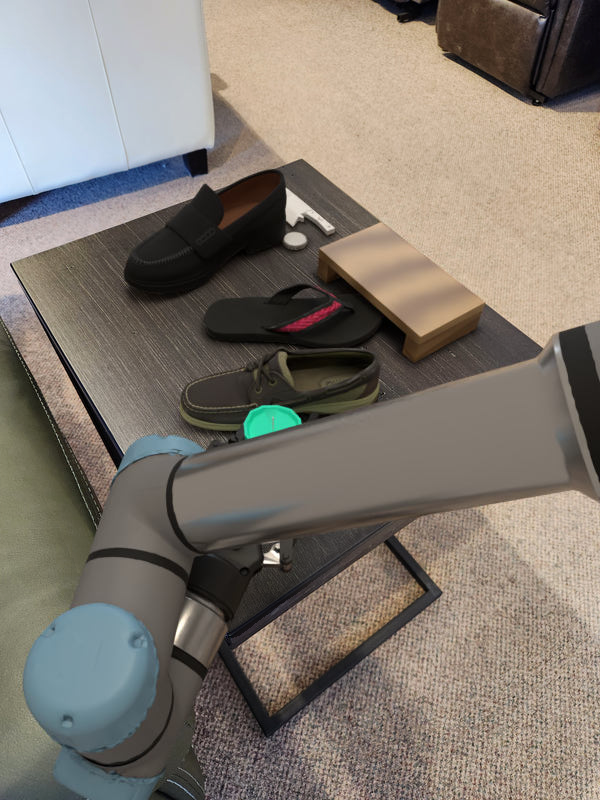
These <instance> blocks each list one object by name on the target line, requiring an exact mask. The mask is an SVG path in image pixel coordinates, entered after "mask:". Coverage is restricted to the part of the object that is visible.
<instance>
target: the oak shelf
mask: <svg viewBox="0 0 600 800" xmlns="http://www.w3.org/2000/svg"><path fill="white" fill-rule="evenodd" d="M317 276H318V277H319V278H320V279H321V280H322V281H323V282H324V283H326V284H328V283H331V282H332V281H335V280H338V279H339V278H342V279H343V280H344V281H346V282H347V283H348V284H349V285H350V286H351V287H353V288H354V289H355V290H356V291H357V292H358V294H362V295H363V296H364V297H365V298H366V299H367V300H368V301H370V302H371V303H372V304H373V305H374V306H375V307H376V308H378V309H379V310H380V311H381V312H382V313H383V314H384V317H387V319H388V320H390V322H392V323H393V324H394V325H395V326H396V327H398V328H399V329H400V330H401V331H402V332H403V333H404V334H405V339H404V344H403V348H402V351H401V352H402V354H403V355H404V356H405V357H406V358H408V359H409V361H411V362H412V363H413V364H415V363H416V362H418V361H420V360H422V359H424V358H426V357H427V356H429V355H431V354H433V353H435V352H437V351H438V350H440V349H442V348H444V347H446V346H448V345H449V344H450V343H452V342H454V341H456V340H458V339H460V338H462V337H464V336H465V335H467V334H469V333H470V332H472V331H474V330H476V329H477V327H478V325H479V322H480V320H481V317H482V313H483V312H484V311H483V310H484V308H485V305H486V301H485V300H483V299H482V298H481V297H480V296H478V294H475V292H473V291H472V290H471V289H469V288H468V287H467V286H466V285H464V284H463V283H461V282H460V281H459V280H458V279H456V278H455V277H453V275H451V274H450V273H448V272H447V271H446V270H445V269H443V268H442V267H441V266H439V265H438V264H437V263H436V262H434V261H432V259H430V258H428V256H426V255H425V254H423V253H422V251H420V250H419V249H417V248H415V247H414V246H413V245H412V244H411V243H409V242H408V241H407V240H405V239H404V238H403V237H402V236H400V235H399V234H398V233H396V232H395V231H394V230H392V228H390V227H388V226H387V225H386V224H385V223H383V222H382V221H381V222H380V221H379V222H377V223H375V224H373V225H371V226H369V227H366V228H363V229H361V230H359V231H356V232H354V233H351V234H349V235H347V236H345V237H342V238H340V239H338V240H335V241H333V242H330V243H328V244H325V245H324V246H321V247H319V248H318V259H317Z"/></svg>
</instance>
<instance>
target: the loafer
mask: <svg viewBox="0 0 600 800" xmlns="http://www.w3.org/2000/svg"><path fill="white" fill-rule="evenodd" d="M286 188H287V184H286V179H285V175H284V173H283V172H282V171H281V170H279V169H276V168H268V169H264V170H260V171H257V172H254V173H252V174H249V175H247V176H244V177H243V178H240V179H238V180H236V181H234V182H232V183H231V184H229V185H227V186H226V187H225V188H222V189H221V190H220V191H217V192H216V191H215V190H214V189H213V188H212V187H211V186H209V185H208V184H207V183H203V184H202V185H201V187H200V188H199V190H198V191H197V192H196V194H195V195H194V197H193V198H192V199H191V201H190V202H189V203H186V204H185V205H184V206H183V207H182V208H181V209H179V211H178V212H176V214H175V215H173V217H172V218H171V219H169V220H168V221H167V222H166V223H165V226H163V227H162V228H160V229H159V230H157V231H156V232H154V233H153V234H151V235H149V237H147V238H145V239H143V240H142V241H141V242H139V243H138V244H137V245H136V246H135V247H133V249H131V251H130V255H128V258H127V259H126V262H125V265H124V266H125V267H124V269H123V279H124V281H125V282H126V283H127V285H129V286H130V287H132V288H133V289H136V290H137V291H141V292H146V293H147V294H148V293H149V294H175V293H181V292H185V291H189V290H192V289H194V288H196V287H199V286H201V285H204V284H205V283H206V282H208V281H209V280H210V279H211V278H212V277H213V276H214V275H215V274H216V272H217V271H218V270H220V268H221V267H222V266H223V265H224V264H225V263H227V261H228V260H229V259H230V258H232V257H233V256H235V254H237V253H239V252H240V251H242V250H243V249H244V250H246V252H247V253H248V254H253V253H257V252H258V251H264V250H266V249H268V248H269V247H274V246H277V245H279V244H280V243H282V240H283V239H284V237H285V235H286V234H287V221H286V203H287V194H286Z"/></svg>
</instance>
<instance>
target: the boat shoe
mask: <svg viewBox="0 0 600 800" xmlns="http://www.w3.org/2000/svg"><path fill="white" fill-rule="evenodd" d="M380 362H381V361H380V358H379V356H378V354H377V353H376V352H374V351H373V350H370V349H366V348H358V347H357V348H353V347H346V348H329V349H321V348H307V349H292V350H289V349H287V348H286V347H285V346H279V347H277V348H275V349H274V350H272V351H271V352H268V353H267V352H266V353H264V354H263V356H262V357H260V358H257V359H255V360H253V361H250V362H248V363H246V364H245V365H243V366H242V367H239V368H235V369H231V370H225V371H221V372H217V373H212V374H208V375H206V376H202V377H199V378H196V379H193V380H191V381H190V382H189V383H187V384H186V385H185V386H184V388H183V389H182V391H181V394H180V400H179V411H180V415H181V417H182V418H183V420H184V421H185V422H187V423H188V424H190V425H191V426H194V427H197V428H201V429H205V430H210V431H219V432H237V431H238V430H239V428H240V426H241V424H242V423H243V422H244V421H245V420H246V418H247V416H248V414H249V412H250V411H251V410H254V409H256V408H258V407H260V406H261V405H262V404H263V402H264V400H265V398H266V396H268V397H271V398H273V405H279V406H282V407H286V408H289V409H292V410H293V411H294V412H295V413H296V414H302V413H303V414H308V415H311V413H312V411H313V412H316V413H319V415H335V414H338V413H342V412H345V411H349V410H353V409H356V408H360V407H363V406H367V405H370V404H374V403H376V401H377V400H378V398H379V395H380V374H381V373H380V372H381V367H382V366H381V363H380Z"/></svg>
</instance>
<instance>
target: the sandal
mask: <svg viewBox="0 0 600 800" xmlns="http://www.w3.org/2000/svg"><path fill="white" fill-rule="evenodd" d="M308 289H312V290H314V291H316V292H318V293H321V294H323V295H324V296H319V297H295V296H296V295H297V294H299V293H300V292H302V291H304V290H308ZM384 317H385V315H384V314H383V313H382V312H381V311H380V310H379V309H378V308H376V307H375V306H374V305H373V304H372V303H371V302H370V301H368V300H367V299H366V298H365V297H364V296H363V295H362V294H361V293H344V294H343V293H342V294H334V295H333V293H330V292H328V291H326V290H324V289H322V288H320V287H318V286H316V285H312V284H310V283H305V282H304V283H303V282H302V283H301V282H300V283H296V284H293V285H290V286H287V287H284V288H281V289H279V290H278V291H276V292H275V293H273V294H272V295H271V296H243V297H228V298H227V297H226V298H220V299H218V300H215V301H213V302H212V303H211V304H210V305H209V306H208V307H207V308H206V311H205V315H204V324H205V327H206V328H205V329H206V331H207V332H208V335H210V336H211V337H212V338H213V339H215V340H219V341H225V342H226V341H227V342H268V343H269V342H270V343H282V344H292V345H299V346H305V347H310V348H314V349H329V348H351V347H353V346H356V345H358V344H360V343H362V342H365V341H366V340H367V339H369V338H370V337H371V336H373V335H374V334H375V333H376V331H377V330H378V329H379V328H380V326H381V324H382V322H383V321H384Z"/></svg>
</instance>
